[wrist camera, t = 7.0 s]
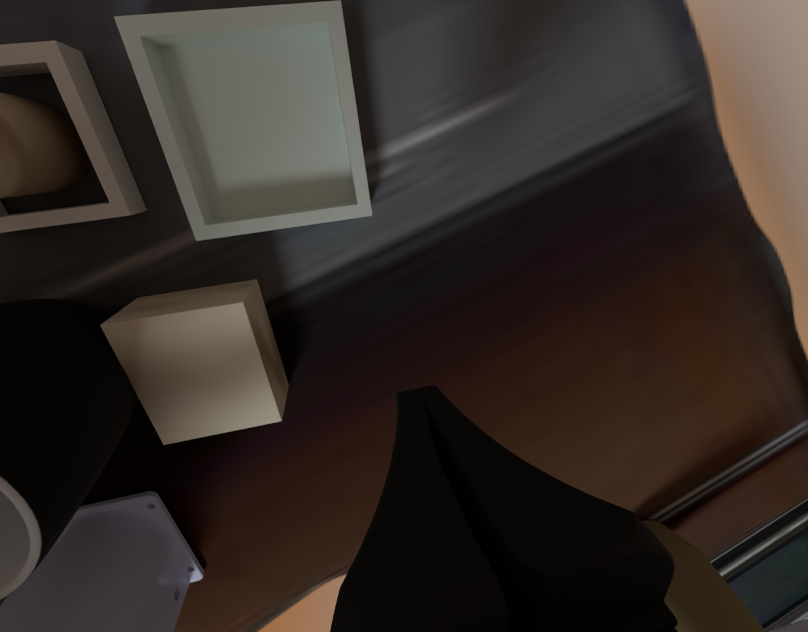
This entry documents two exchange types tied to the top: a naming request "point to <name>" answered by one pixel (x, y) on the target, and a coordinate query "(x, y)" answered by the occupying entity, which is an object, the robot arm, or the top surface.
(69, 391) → the mug
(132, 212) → the collar
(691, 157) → the top surface
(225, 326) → the push block
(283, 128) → the tray
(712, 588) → the squeeze bottle
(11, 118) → the dowel
